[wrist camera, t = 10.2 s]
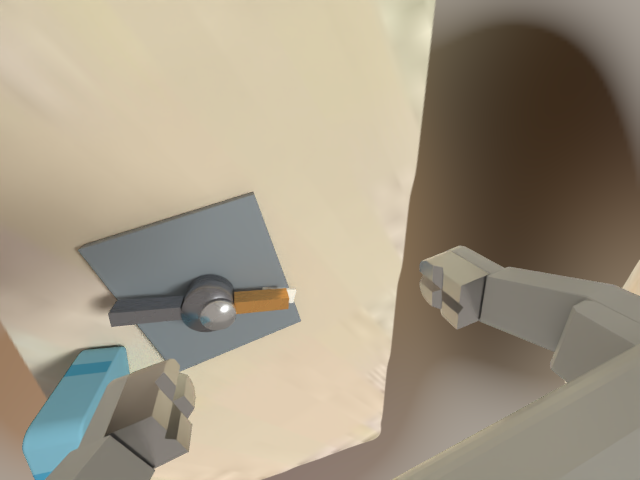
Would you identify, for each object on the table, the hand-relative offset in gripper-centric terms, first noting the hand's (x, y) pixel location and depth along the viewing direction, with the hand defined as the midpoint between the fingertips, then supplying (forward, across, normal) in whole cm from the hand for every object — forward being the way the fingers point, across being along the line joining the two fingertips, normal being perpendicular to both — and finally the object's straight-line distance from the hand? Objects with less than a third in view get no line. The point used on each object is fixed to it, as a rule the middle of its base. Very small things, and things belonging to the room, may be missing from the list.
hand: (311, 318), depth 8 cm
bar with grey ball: (+25, +11, +14) cm, 30 cm away
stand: (+26, +11, +14) cm, 32 cm away
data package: (+26, +28, +22) cm, 45 cm away
